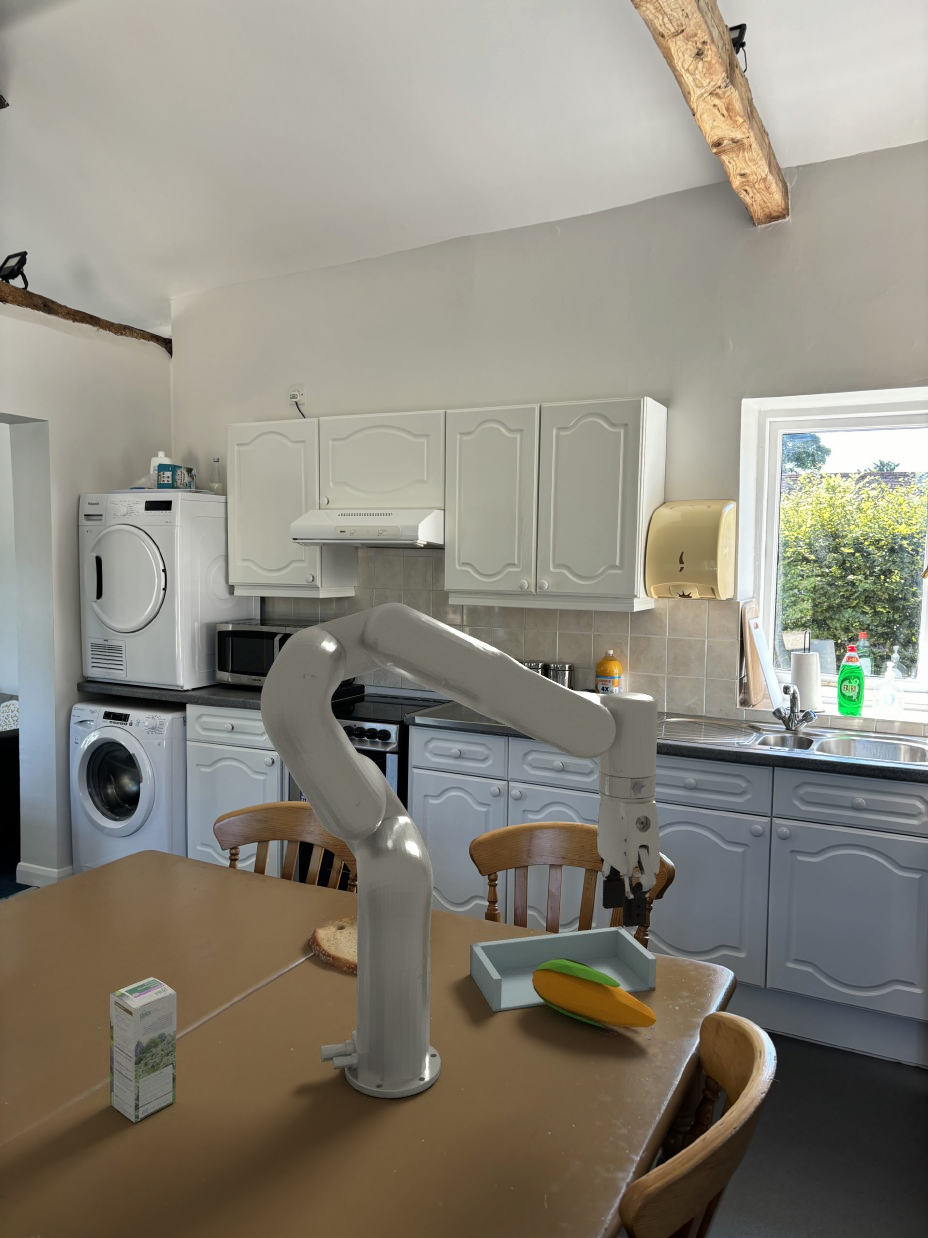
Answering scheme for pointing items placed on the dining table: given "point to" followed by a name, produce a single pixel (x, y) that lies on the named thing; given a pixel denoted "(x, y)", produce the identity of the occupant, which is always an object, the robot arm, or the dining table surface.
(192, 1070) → the dining table surface
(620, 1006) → the corn
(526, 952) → the tray
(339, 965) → the slice of bread
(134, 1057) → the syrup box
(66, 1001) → the dining table surface
